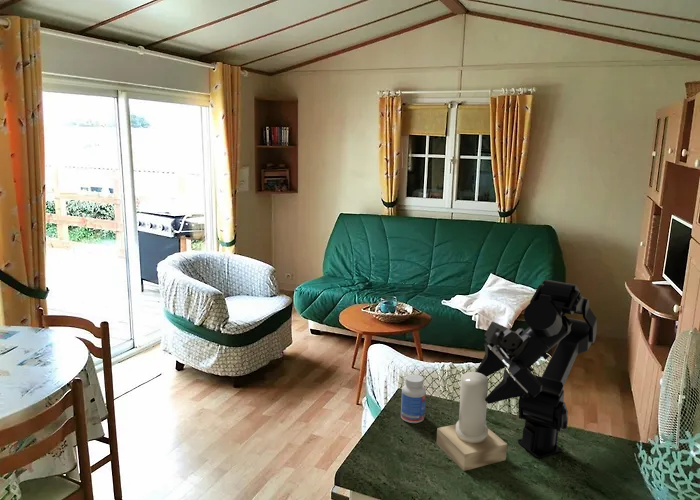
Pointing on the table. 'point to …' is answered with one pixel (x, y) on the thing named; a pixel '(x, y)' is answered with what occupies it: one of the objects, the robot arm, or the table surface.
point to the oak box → (471, 449)
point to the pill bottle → (413, 399)
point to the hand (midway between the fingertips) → (479, 390)
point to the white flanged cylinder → (472, 408)
